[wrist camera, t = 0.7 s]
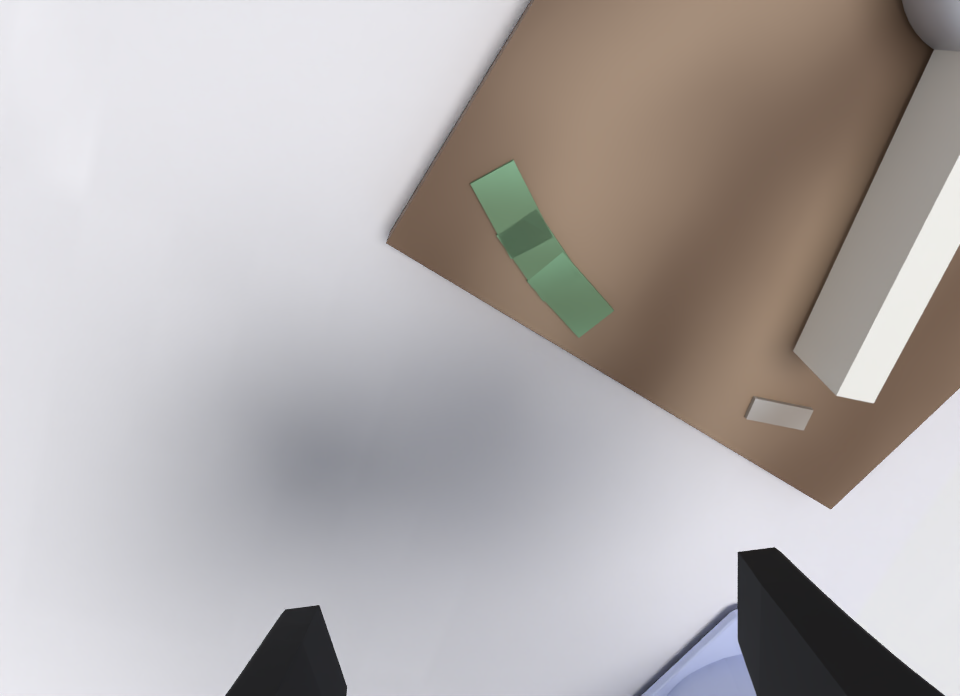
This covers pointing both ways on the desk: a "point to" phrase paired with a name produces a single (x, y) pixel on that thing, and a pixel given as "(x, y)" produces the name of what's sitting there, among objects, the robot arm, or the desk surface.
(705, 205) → the dial board
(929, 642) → the desk surface
